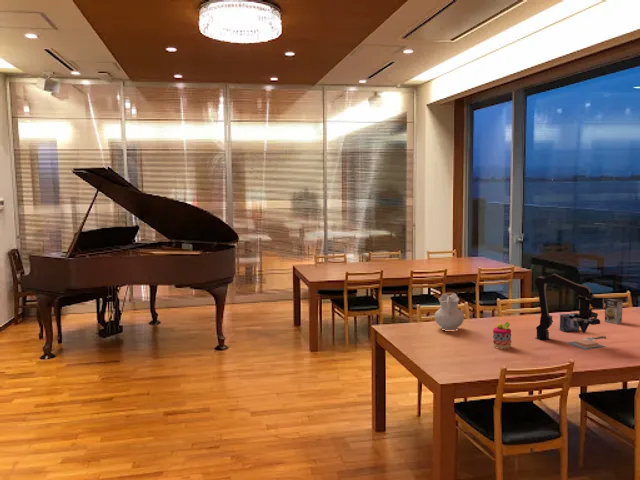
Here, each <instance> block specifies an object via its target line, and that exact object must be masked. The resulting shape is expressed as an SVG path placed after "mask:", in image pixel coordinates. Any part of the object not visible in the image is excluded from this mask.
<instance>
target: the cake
mask: <svg viewBox="0 0 640 480" xmlns="http://www.w3.org/2000/svg"><path fill="white" fill-rule="evenodd" d="M510 325H511V324H510V323H509V322H508V321H506V322H505V323H503V324H502V323H497V326H496V327H494V328H493V329H492V334H493V336H492V337H493V338H492V339H493V340H492V343H493V347H494V346H495V347H498V348H504V349H503V350H506V349H505V348H510V347H512V346H511V345H512V329H511V328H509V327H510ZM495 347H494V348H495ZM510 349H511V348H510Z"/></svg>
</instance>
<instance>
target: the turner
mask: <svg viewBox="0 0 640 480" xmlns="http://www.w3.org/2000/svg"><path fill="white" fill-rule="evenodd" d="M606 338H607V336H606V335H600V336H592V337H586V338H583V340H587V339H588V340H591V341H597V339H606Z"/></svg>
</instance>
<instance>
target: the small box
mask: <svg viewBox="0 0 640 480" xmlns="http://www.w3.org/2000/svg"><path fill="white" fill-rule="evenodd" d="M570 314H571V313H567V314H565V313H564V314H559V330H560V331H561V332H564V333H568V332H569V333H571V332H576V333H577V332H580V326H579V324H578V323H577V322H576V321H577V318H573V319H570V318H569V315H570Z"/></svg>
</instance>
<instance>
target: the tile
mask: <svg viewBox="0 0 640 480" xmlns="http://www.w3.org/2000/svg"><path fill="white" fill-rule="evenodd" d="M575 341H576V343H575V344H576V345H579V346H582V347H585V348H589V347H596V346H598V344H599V342H597V341H595V340H592V341H591V340H588V339H587V340H585V339H581V340H575Z"/></svg>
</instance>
